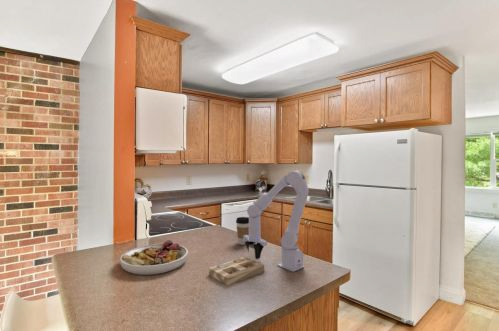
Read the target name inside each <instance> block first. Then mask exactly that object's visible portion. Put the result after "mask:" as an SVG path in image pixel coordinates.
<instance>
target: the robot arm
mask: <svg viewBox="0 0 499 331" xmlns="http://www.w3.org/2000/svg"><path fill="white" fill-rule="evenodd" d="M288 186H291V187H292V188H293V189H294V191H295V193H296V196H295V199H294V203H293V207H292V210H291V214H290V218H289V220H288V224H287V227H286V228H285V232H284V234H283V236H281V238H280V243H281V244H280V245H281V263H279V264H277V266H278V267H280V268H283V269H285V270H287V271H291V272H292V273H295V272H297V271H299V270H301V269H303V268H305V266H304V252H303V251H302V249H301V250H300V249H299V246H298V245H297V242H298V240H299V234H298V233H299V227H300V224H301V220H302V216H303V214H304V210H305V207H306V203H307V200H308V195H309V193H310V192H309V190H310V189H309V187H308V184H307V180H306V176H305V175H304V174H303V172H302V171H300V170H299V169H298V170H291V171H289V172H288V173H287V174H285V175H284V176H283V177H281V178H280V179H279V180H278V181H277V183H275V184H274V186H273V187H272V188H271V189H270V190H269V191H268V192H263V193H260V194H259V197H258V198H257V199H256V200H254V201H253V202H252V204H250V205H249V206H248V207H247V209H246V213H247V215H248V217H249V235H243V239H244V240H245V239H246V240H247V241H246V242H245V244H246V245H245V246H246V249H247V253H249V245H250V244H253V243H256V244H255V245H253V246H254V249H255V257H256V259H259V258H260V255H261V254H262V251H263V249H264V247H265V246H267V245H268V241H267V240H265V239H263V238H262V237H261V235H262V234H261V228H262V227H261V224H262V223H261V214H262V213H263V211H264V210H266V209H267V208H268V206H270V205H271V204H272V203H273V200H274V199H273V197H275V196H277V194H278V193H280V191H282V190H283V189H284V188H285V187H288ZM261 256H262V255H261Z"/></svg>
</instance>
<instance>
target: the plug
mask: <svg viewBox="0 0 499 331" xmlns="http://www.w3.org/2000/svg"><path fill="white" fill-rule="evenodd" d="M255 244H257V243H253V244H250V245H249V252H248V258H249V259H251V260H254V261H256V262H258V263H261V258H262V257H261V256H262V255H260V258H259V259H256V257H255V249H254V246H253V245H255Z"/></svg>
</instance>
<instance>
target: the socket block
mask: <svg viewBox="0 0 499 331" xmlns="http://www.w3.org/2000/svg"><path fill="white" fill-rule="evenodd" d="M264 272H265V264H263V263H261V262H256V261H254V260H251V259H249V257H246V256H242V257H240V258H236V259H233V260H229V261H227V262H224V263H221V264H217V265H215V266H211V267H208V276H210V277H212V278H214V279H215V280H217V281H219V282H220V283H222V284H224V285H226V286H230V285H232V284H235V283H237V282H238V283H239V282H241V281H244V280H247V279H248V278H250V277H251V278H252V277H254V276H257V275H258V274H259V275H260V274H261V273H264Z"/></svg>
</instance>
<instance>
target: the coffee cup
mask: <svg viewBox="0 0 499 331" xmlns="http://www.w3.org/2000/svg"><path fill="white" fill-rule="evenodd" d="M235 224H236V233H237V244H238V245H244V246H246V244H245V242H246V241H247V240H246V239H245V240H244V239H243V235H249V216H241V217H240V216H238V217H236V220H235Z"/></svg>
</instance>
